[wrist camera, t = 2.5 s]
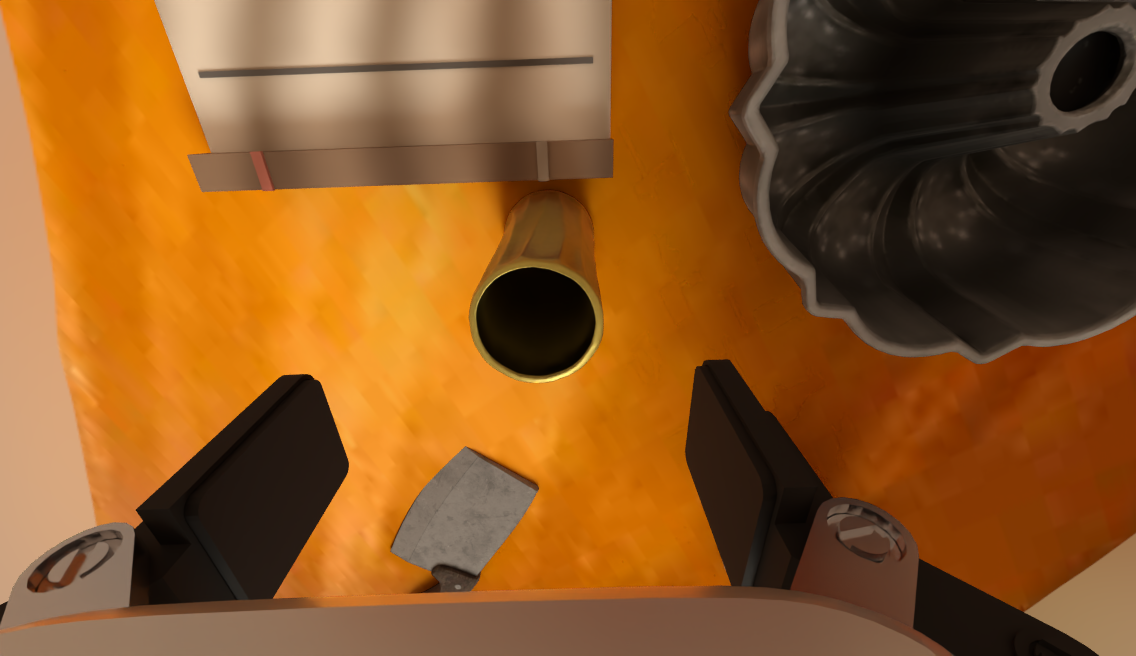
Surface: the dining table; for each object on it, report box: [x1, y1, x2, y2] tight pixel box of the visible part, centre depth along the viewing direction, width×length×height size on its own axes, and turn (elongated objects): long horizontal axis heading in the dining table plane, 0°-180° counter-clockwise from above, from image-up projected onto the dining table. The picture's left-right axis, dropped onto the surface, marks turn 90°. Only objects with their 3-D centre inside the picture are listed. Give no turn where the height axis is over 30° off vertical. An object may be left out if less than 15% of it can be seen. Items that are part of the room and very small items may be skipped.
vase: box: [469, 190, 603, 383], centre depth 22 cm, size 6×6×14 cm
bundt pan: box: [729, 0, 1136, 364], centre depth 21 cm, size 26×26×10 cm
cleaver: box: [391, 446, 539, 593], centre depth 43 cm, size 29×10×2 cm, turn 150°
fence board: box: [154, 0, 613, 192], centre depth 23 cm, size 24×10×3 cm, turn 92°
